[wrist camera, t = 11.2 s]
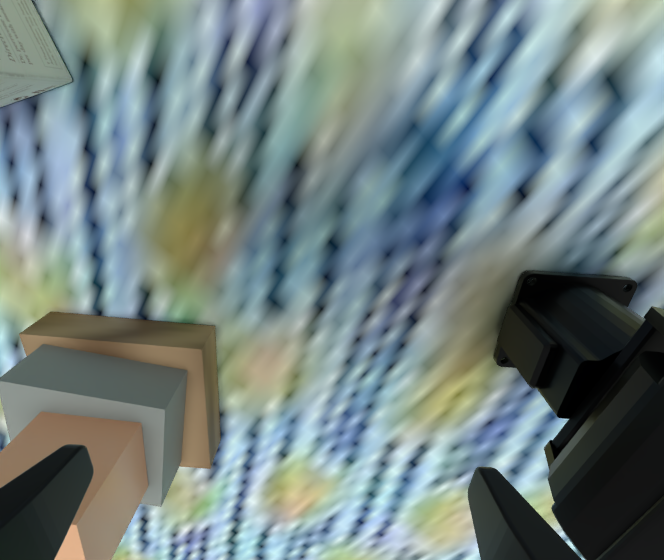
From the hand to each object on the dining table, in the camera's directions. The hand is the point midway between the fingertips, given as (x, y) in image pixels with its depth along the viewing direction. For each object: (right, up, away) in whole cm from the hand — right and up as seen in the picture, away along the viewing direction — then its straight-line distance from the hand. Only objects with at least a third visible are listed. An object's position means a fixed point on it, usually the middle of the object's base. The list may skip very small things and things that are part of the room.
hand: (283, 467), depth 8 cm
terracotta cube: (-12, -5, +11) cm, 17 cm away
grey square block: (-12, -4, +14) cm, 19 cm away
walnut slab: (-12, -2, +16) cm, 20 cm away
